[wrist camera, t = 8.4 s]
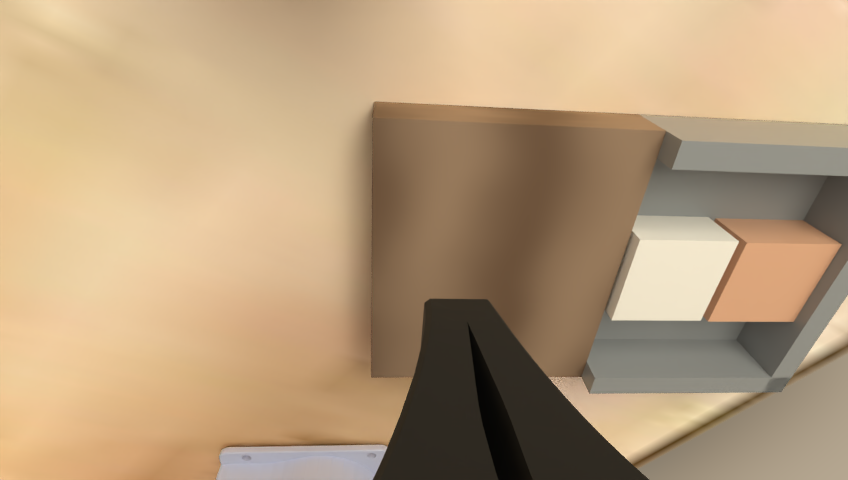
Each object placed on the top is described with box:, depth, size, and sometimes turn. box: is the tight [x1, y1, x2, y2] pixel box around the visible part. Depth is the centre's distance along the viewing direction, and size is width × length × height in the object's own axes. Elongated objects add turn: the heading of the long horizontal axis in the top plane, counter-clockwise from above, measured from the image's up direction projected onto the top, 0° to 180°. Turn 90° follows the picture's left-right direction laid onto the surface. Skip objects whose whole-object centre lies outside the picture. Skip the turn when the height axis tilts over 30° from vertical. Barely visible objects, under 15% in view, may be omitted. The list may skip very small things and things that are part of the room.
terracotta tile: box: [703, 218, 842, 322], centre depth 20 cm, size 4×4×2 cm
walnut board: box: [371, 102, 666, 377], centre depth 19 cm, size 10×12×2 cm
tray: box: [582, 115, 848, 394], centre depth 19 cm, size 10×12×3 cm
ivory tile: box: [605, 215, 739, 321], centre depth 19 cm, size 4×4×2 cm
